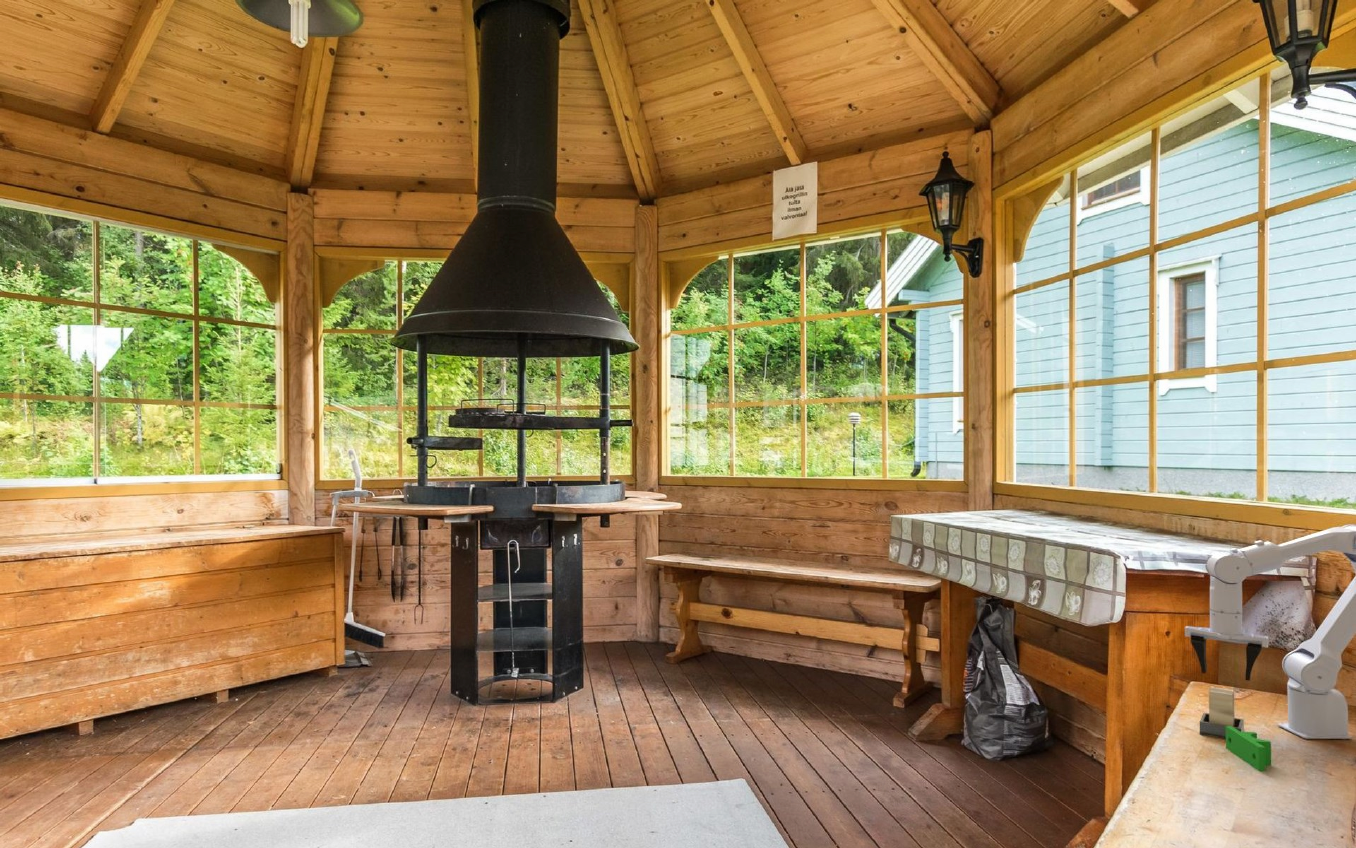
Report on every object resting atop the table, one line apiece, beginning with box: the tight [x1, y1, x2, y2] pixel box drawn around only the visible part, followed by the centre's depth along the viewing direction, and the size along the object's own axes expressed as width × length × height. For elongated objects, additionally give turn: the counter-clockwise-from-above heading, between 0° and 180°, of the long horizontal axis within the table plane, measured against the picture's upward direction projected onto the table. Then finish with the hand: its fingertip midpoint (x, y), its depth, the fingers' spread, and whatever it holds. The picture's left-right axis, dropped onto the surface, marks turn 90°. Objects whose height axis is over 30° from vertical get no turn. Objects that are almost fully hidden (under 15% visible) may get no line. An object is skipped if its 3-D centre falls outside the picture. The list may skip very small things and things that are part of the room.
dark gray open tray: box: [1199, 712, 1245, 740], centre depth 169 cm, size 7×7×2 cm
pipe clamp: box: [1225, 726, 1272, 772], centre depth 155 cm, size 11×4×5 cm, turn 173°
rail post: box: [1208, 686, 1235, 727], centre depth 169 cm, size 4×4×8 cm
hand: (1225, 676), depth 173 cm, fingers open, 7 cm apart
